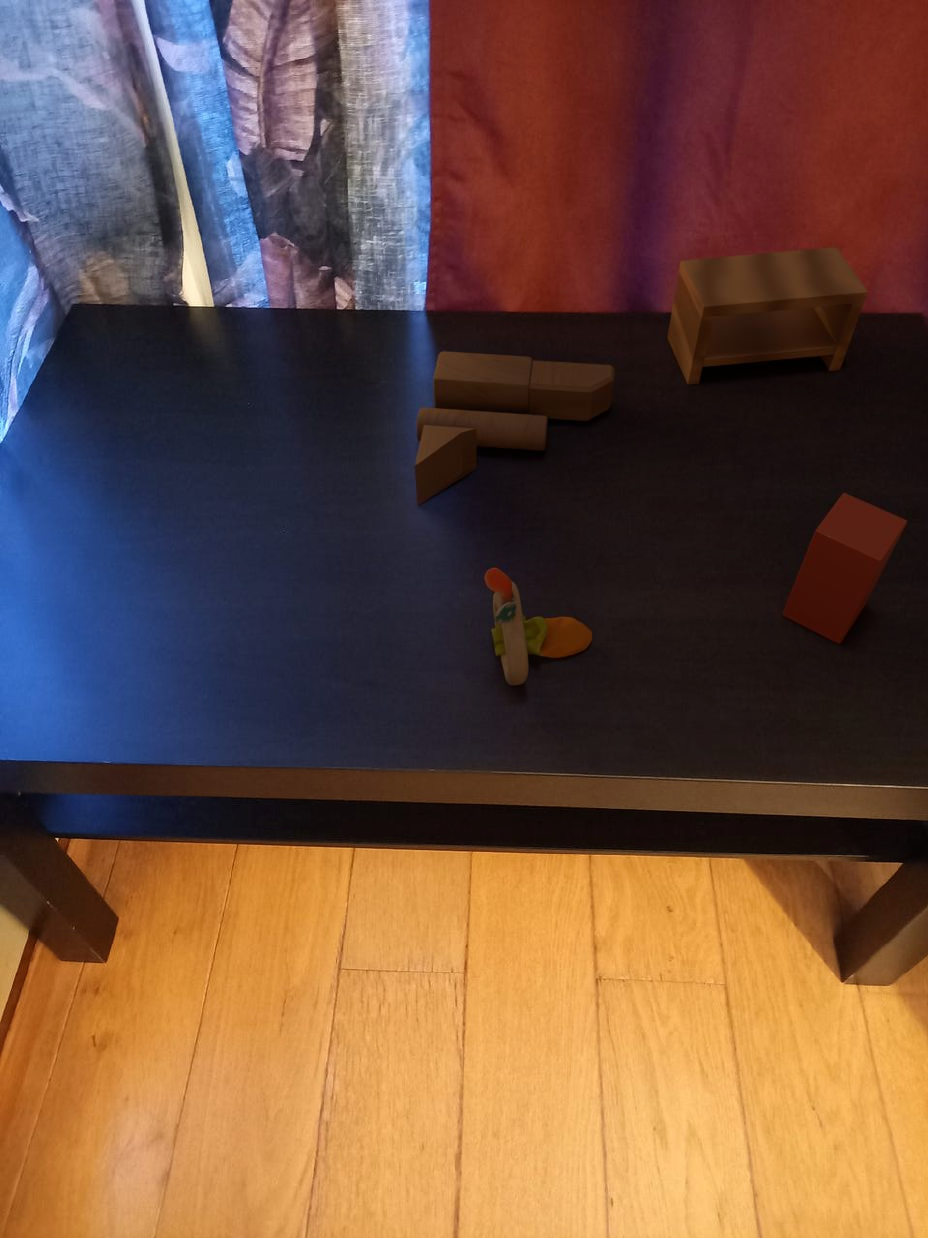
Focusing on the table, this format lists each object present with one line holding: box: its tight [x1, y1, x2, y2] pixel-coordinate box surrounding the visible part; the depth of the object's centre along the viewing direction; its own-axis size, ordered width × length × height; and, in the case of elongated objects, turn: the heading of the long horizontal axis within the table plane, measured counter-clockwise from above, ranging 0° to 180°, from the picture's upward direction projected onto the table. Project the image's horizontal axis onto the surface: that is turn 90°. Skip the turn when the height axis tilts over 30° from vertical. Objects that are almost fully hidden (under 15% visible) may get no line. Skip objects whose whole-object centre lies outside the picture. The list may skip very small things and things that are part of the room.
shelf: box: [666, 246, 869, 386], centre depth 95 cm, size 16×8×9 cm, turn 97°
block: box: [781, 492, 908, 645], centre depth 73 cm, size 5×5×10 cm
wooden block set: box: [414, 350, 616, 506], centre depth 87 cm, size 17×6×18 cm
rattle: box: [484, 567, 593, 686], centre depth 70 cm, size 8×8×12 cm
